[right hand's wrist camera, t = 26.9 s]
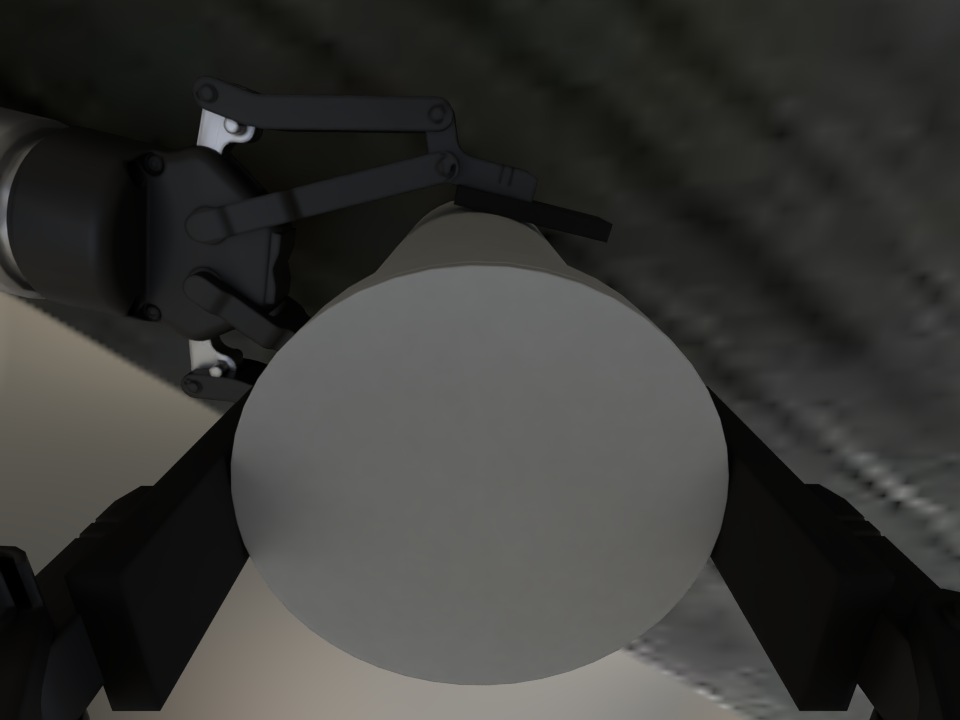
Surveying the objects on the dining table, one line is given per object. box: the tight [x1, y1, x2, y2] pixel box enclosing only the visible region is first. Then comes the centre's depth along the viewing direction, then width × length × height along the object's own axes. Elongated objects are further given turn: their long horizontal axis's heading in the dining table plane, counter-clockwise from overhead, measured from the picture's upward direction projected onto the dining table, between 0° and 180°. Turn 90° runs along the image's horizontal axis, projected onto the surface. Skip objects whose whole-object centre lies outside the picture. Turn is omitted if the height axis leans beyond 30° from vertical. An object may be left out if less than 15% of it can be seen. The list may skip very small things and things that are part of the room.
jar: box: [376, 201, 566, 272], centre depth 22 cm, size 9×9×19 cm
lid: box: [231, 250, 729, 685], centre depth 12 cm, size 10×10×2 cm
